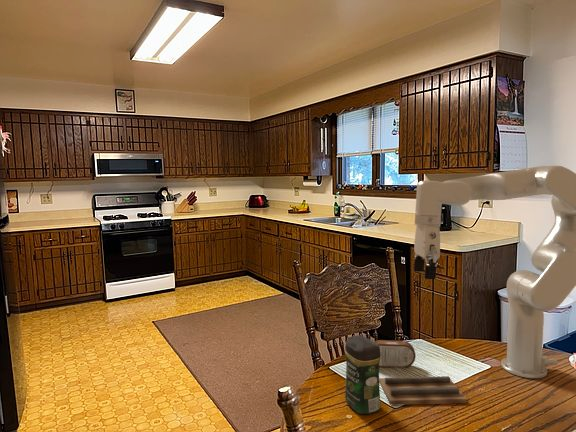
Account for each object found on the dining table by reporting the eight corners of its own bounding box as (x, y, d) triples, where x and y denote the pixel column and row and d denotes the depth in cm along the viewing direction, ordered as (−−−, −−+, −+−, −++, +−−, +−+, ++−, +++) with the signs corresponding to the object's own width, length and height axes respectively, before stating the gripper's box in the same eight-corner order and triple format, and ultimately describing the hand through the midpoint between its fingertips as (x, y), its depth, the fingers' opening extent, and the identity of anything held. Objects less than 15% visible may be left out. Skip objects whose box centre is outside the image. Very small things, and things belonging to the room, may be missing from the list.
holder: (448, 380, 120) (448, 372, 120) (466, 403, 108) (466, 393, 108) (379, 382, 120) (379, 373, 120) (389, 404, 108) (389, 395, 108)
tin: (414, 364, 131) (414, 340, 130) (416, 369, 128) (416, 344, 127) (367, 363, 132) (367, 339, 132) (368, 368, 129) (368, 343, 128)
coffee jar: (340, 399, 111) (340, 335, 109) (364, 393, 114) (365, 330, 112) (359, 419, 102) (359, 349, 100) (385, 411, 105) (385, 343, 103)
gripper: (451, 224, 115) (447, 282, 116) (429, 218, 132) (425, 268, 134) (425, 223, 114) (421, 281, 116) (406, 217, 132) (403, 268, 133)
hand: (424, 274), depth 125 cm, fingers open, 9 cm apart
